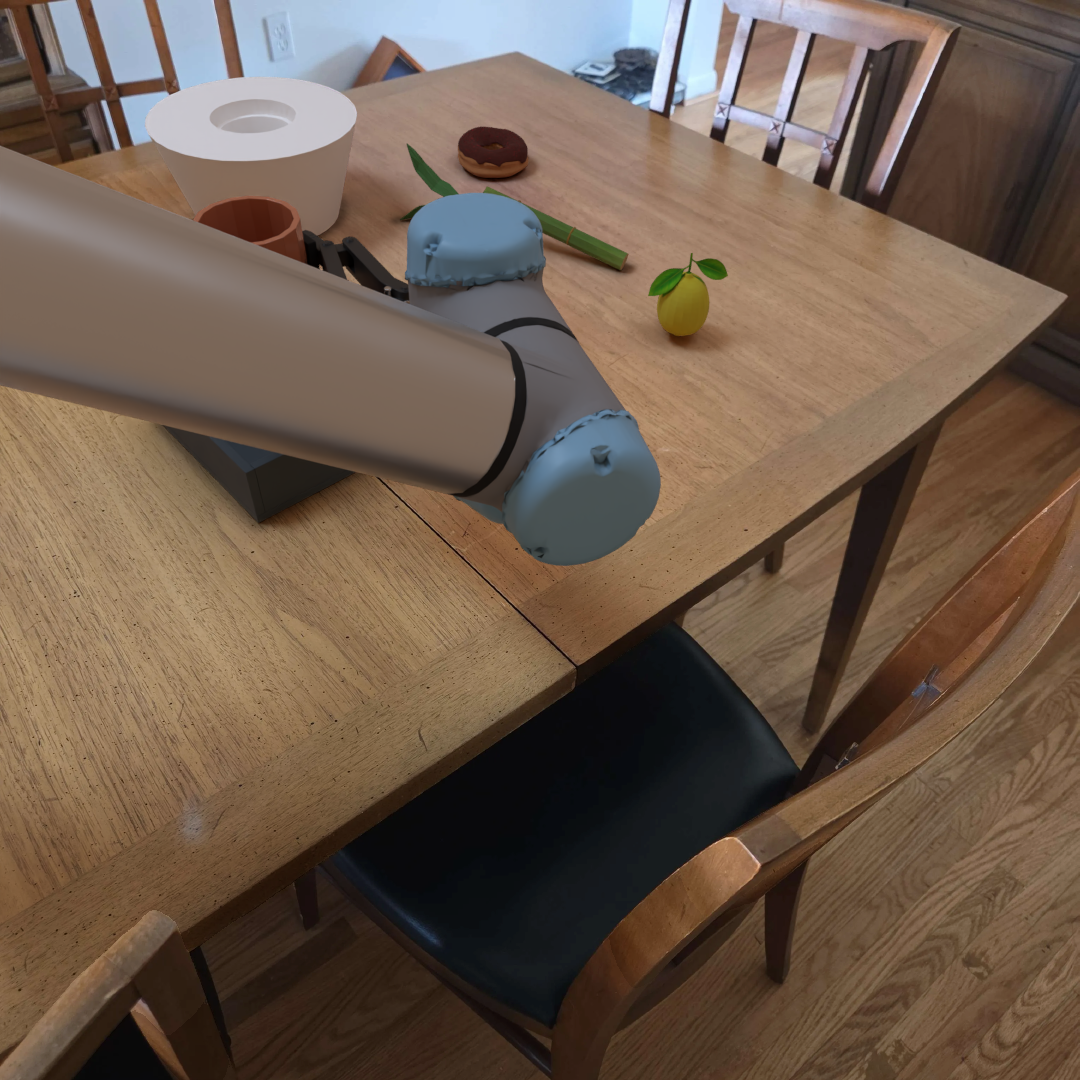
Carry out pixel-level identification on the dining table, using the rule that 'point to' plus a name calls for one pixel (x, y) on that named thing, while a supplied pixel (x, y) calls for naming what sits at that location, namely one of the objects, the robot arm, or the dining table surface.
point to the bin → (258, 473)
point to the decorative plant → (548, 223)
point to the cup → (258, 223)
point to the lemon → (685, 296)
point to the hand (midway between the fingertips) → (225, 243)
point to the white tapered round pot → (258, 143)
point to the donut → (492, 152)
